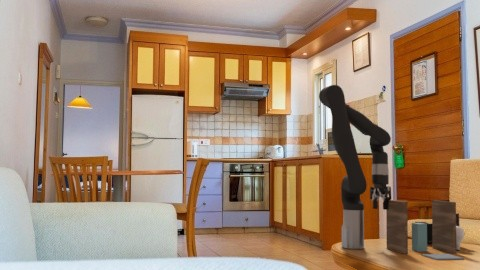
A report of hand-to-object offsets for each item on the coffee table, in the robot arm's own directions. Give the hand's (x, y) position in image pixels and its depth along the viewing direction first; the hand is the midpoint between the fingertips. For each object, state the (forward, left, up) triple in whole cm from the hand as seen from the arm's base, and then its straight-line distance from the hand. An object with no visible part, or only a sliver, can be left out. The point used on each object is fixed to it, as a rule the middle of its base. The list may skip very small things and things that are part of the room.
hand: (380, 209), depth 234 cm
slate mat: (+13, -28, -18) cm, 36 cm away
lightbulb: (+32, -10, -18) cm, 38 cm away
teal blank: (+14, -9, -18) cm, 24 cm away
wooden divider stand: (+14, -10, -18) cm, 25 cm away
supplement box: (+37, +3, -18) cm, 41 cm away
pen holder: (+31, +15, -18) cm, 39 cm away
